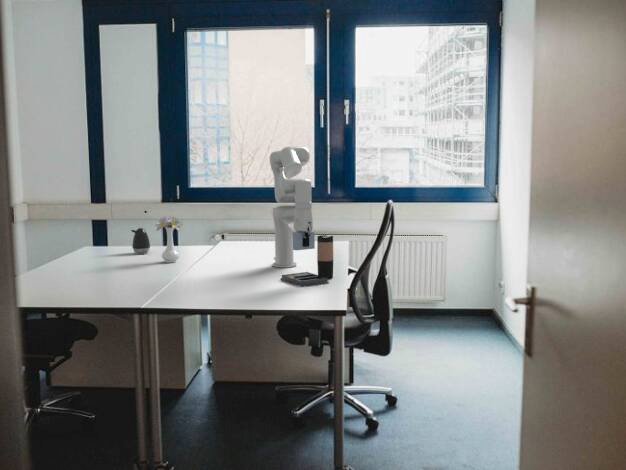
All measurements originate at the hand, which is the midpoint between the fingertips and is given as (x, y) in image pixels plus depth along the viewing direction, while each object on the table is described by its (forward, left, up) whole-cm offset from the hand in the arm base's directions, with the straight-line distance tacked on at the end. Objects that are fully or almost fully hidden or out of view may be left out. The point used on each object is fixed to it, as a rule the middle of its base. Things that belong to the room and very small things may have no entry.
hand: (303, 245), depth 316 cm
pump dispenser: (-125, -36, -17) cm, 131 cm away
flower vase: (-88, -32, -17) cm, 95 cm away
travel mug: (-2, +13, -17) cm, 22 cm away
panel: (0, 0, -2) cm, 2 cm away
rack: (0, 0, -17) cm, 17 cm away
